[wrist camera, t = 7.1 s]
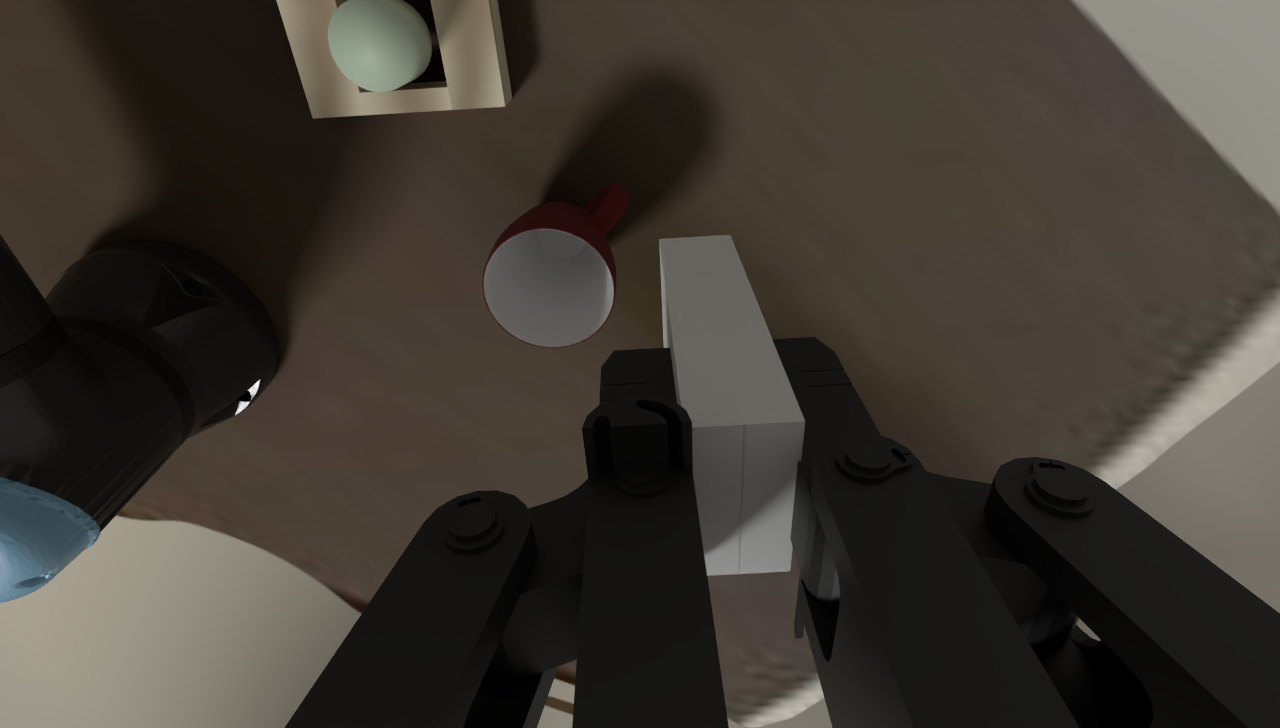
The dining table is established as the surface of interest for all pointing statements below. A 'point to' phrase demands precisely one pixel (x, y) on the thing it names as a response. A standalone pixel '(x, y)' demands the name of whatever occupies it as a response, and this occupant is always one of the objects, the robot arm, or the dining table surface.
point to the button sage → (379, 43)
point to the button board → (470, 83)
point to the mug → (555, 271)
